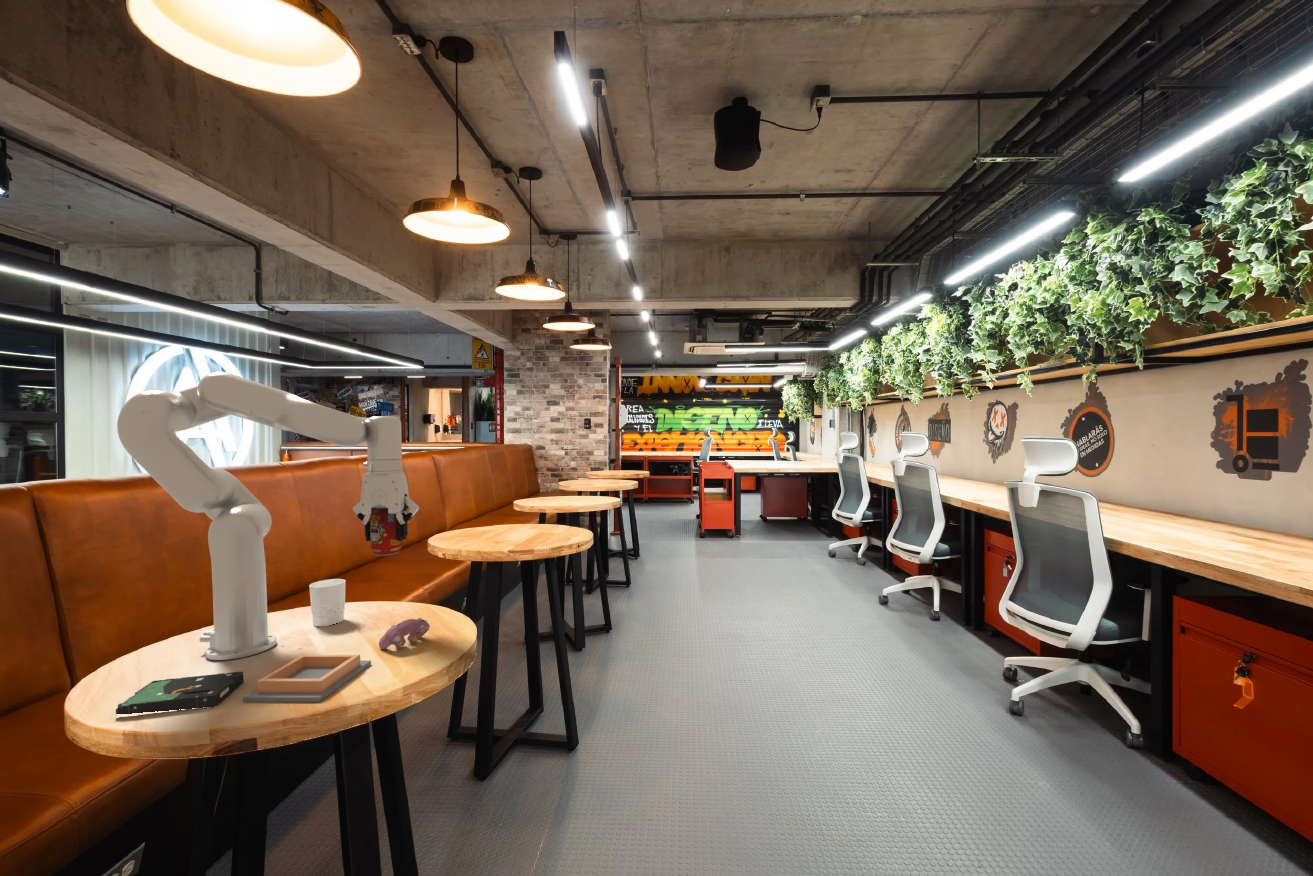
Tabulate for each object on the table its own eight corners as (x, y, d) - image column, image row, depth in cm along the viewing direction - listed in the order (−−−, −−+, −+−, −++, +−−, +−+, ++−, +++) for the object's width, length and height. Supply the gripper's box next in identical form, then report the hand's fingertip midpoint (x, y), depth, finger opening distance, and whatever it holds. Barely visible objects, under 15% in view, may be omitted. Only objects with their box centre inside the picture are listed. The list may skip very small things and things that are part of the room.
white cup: (353, 618, 145) (352, 579, 145) (329, 628, 137) (328, 587, 137) (328, 616, 146) (326, 578, 146) (302, 626, 139) (301, 586, 139)
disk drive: (244, 685, 108) (152, 694, 104) (244, 670, 108) (152, 679, 104) (217, 710, 98) (114, 722, 94) (216, 694, 98) (113, 705, 94)
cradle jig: (243, 701, 99) (242, 686, 99) (304, 664, 115) (304, 651, 115) (319, 702, 98) (319, 686, 98) (370, 664, 114) (370, 650, 114)
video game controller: (385, 660, 121) (392, 633, 119) (375, 646, 123) (382, 620, 121) (427, 645, 128) (434, 620, 127) (417, 633, 131) (424, 608, 129)
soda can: (363, 555, 134) (362, 504, 134) (384, 549, 141) (384, 500, 141) (388, 556, 132) (387, 504, 132) (408, 550, 139) (408, 501, 139)
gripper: (341, 468, 133) (342, 543, 133) (412, 467, 132) (413, 542, 132) (359, 466, 141) (360, 537, 141) (427, 465, 140) (428, 537, 140)
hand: (386, 539), depth 137 cm, fingers closed on soda can, 7 cm apart
